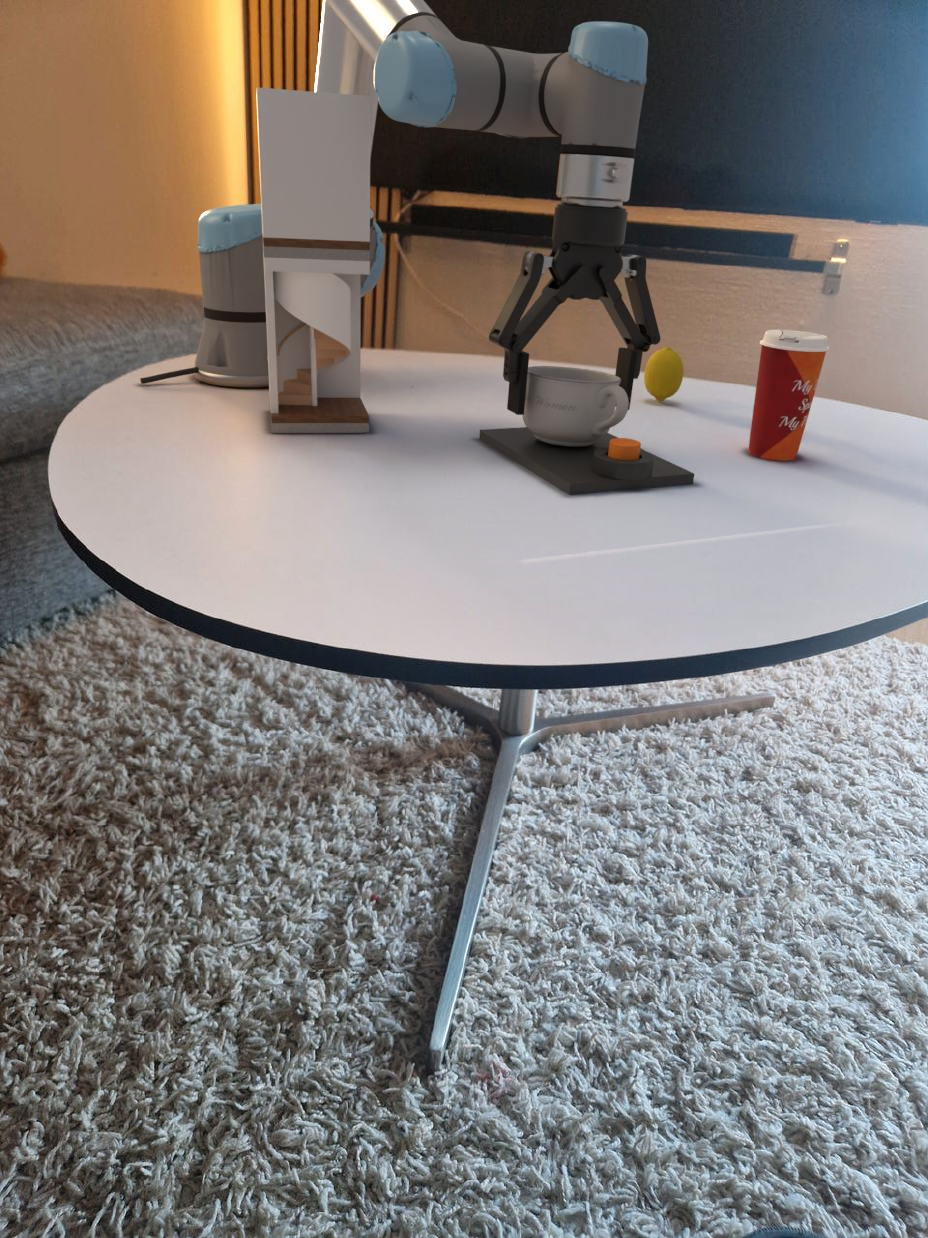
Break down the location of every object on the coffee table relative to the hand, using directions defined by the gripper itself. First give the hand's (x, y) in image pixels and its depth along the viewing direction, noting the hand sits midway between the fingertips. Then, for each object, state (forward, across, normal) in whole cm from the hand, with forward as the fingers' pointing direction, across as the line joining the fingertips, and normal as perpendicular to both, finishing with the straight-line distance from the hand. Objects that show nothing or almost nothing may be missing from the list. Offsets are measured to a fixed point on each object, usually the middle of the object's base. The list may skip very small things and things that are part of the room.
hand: (569, 409), depth 101 cm
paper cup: (+5, +25, -6) cm, 26 cm away
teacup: (+4, 0, -1) cm, 4 cm away
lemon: (+5, +28, +22) cm, 36 cm away
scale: (+5, 0, -3) cm, 6 cm away
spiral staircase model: (+5, -24, +20) cm, 31 cm away
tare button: (+2, 0, -12) cm, 12 cm away
